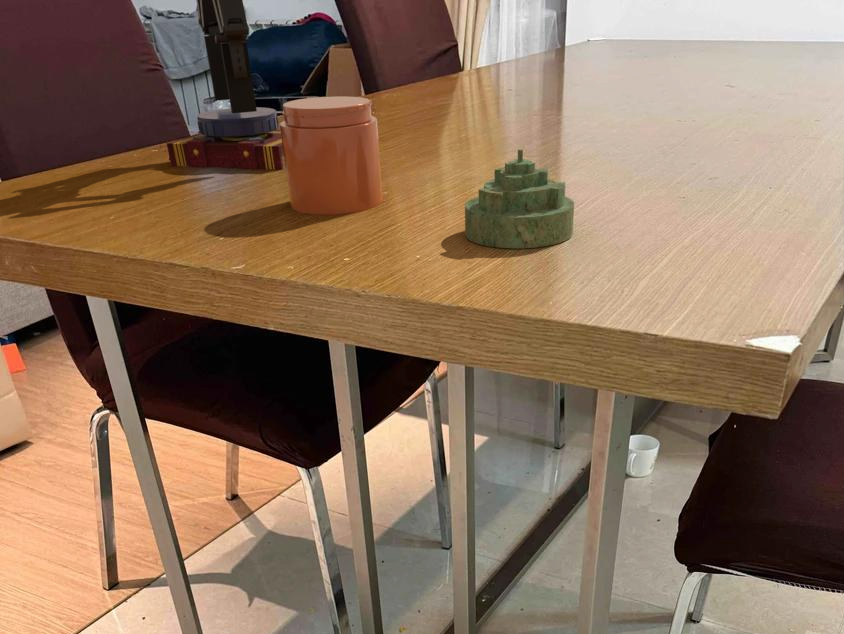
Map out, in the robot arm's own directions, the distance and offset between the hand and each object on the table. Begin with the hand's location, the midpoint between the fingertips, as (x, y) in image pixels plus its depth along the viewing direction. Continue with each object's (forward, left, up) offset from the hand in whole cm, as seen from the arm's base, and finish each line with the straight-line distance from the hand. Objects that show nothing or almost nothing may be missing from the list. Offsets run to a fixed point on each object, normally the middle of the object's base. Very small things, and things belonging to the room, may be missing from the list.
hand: (235, 105), depth 98 cm
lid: (0, 0, -1) cm, 1 cm away
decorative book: (0, 0, -8) cm, 8 cm away
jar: (+9, -27, -8) cm, 30 cm away
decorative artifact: (+25, -36, -8) cm, 45 cm away
